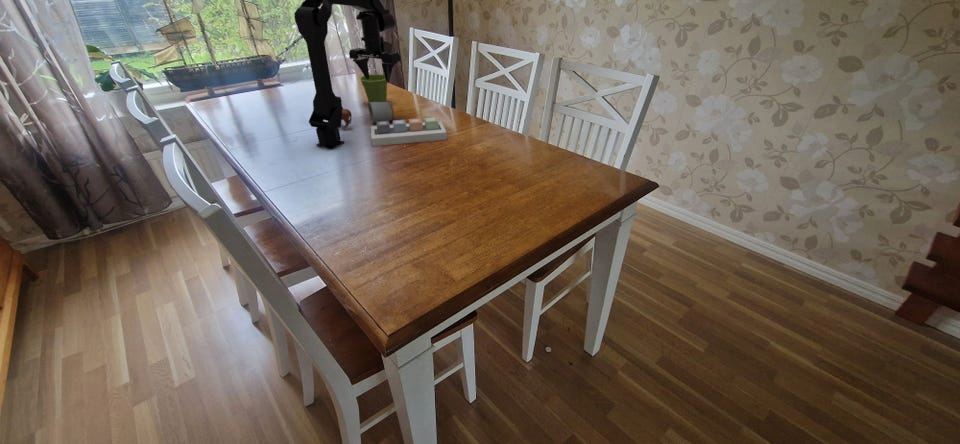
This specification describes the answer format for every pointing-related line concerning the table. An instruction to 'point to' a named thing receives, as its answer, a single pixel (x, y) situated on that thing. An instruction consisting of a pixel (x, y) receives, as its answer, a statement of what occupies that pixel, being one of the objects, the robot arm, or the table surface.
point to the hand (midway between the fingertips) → (377, 80)
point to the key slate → (399, 126)
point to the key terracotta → (415, 125)
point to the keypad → (408, 135)
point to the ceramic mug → (381, 111)
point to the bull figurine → (346, 117)
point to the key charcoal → (383, 127)
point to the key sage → (431, 123)
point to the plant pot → (375, 87)
